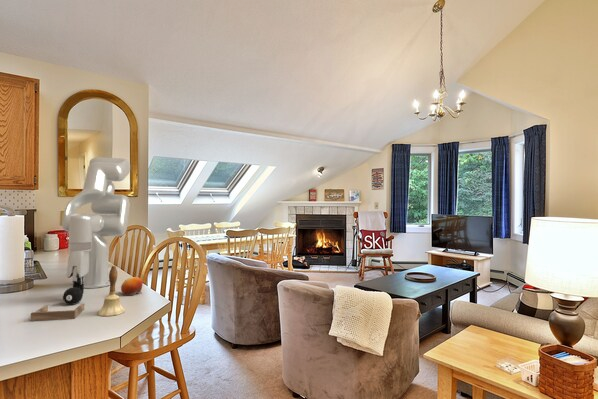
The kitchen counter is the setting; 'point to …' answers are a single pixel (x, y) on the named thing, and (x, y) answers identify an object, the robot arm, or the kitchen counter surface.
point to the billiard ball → (72, 295)
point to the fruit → (132, 286)
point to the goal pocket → (55, 314)
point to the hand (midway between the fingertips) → (78, 294)
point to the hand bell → (111, 298)
